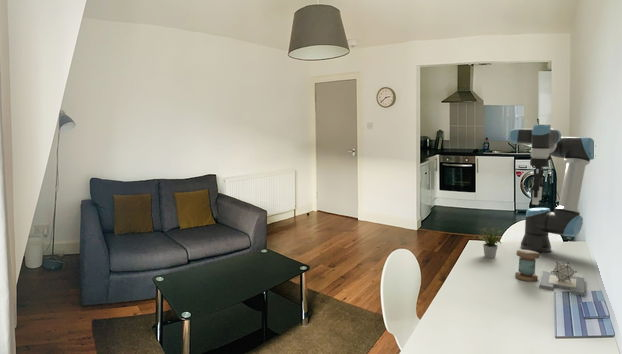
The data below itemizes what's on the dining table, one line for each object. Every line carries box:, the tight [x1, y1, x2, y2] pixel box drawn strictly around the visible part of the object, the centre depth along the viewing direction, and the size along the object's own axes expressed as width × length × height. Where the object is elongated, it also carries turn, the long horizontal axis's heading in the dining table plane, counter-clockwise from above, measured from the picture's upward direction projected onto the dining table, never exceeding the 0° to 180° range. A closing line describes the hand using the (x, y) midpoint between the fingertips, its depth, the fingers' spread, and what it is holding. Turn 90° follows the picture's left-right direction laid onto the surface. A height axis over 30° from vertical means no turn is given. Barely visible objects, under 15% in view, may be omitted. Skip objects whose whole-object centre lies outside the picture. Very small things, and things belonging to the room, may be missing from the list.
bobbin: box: [514, 249, 540, 283], centre depth 186 cm, size 9×9×12 cm
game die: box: [550, 261, 577, 282], centre depth 179 cm, size 9×8×10 cm
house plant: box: [477, 226, 503, 259], centre depth 217 cm, size 14×14×16 cm
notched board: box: [538, 270, 585, 296], centre depth 179 cm, size 20×16×2 cm
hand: (536, 202), depth 196 cm, fingers open, 13 cm apart
